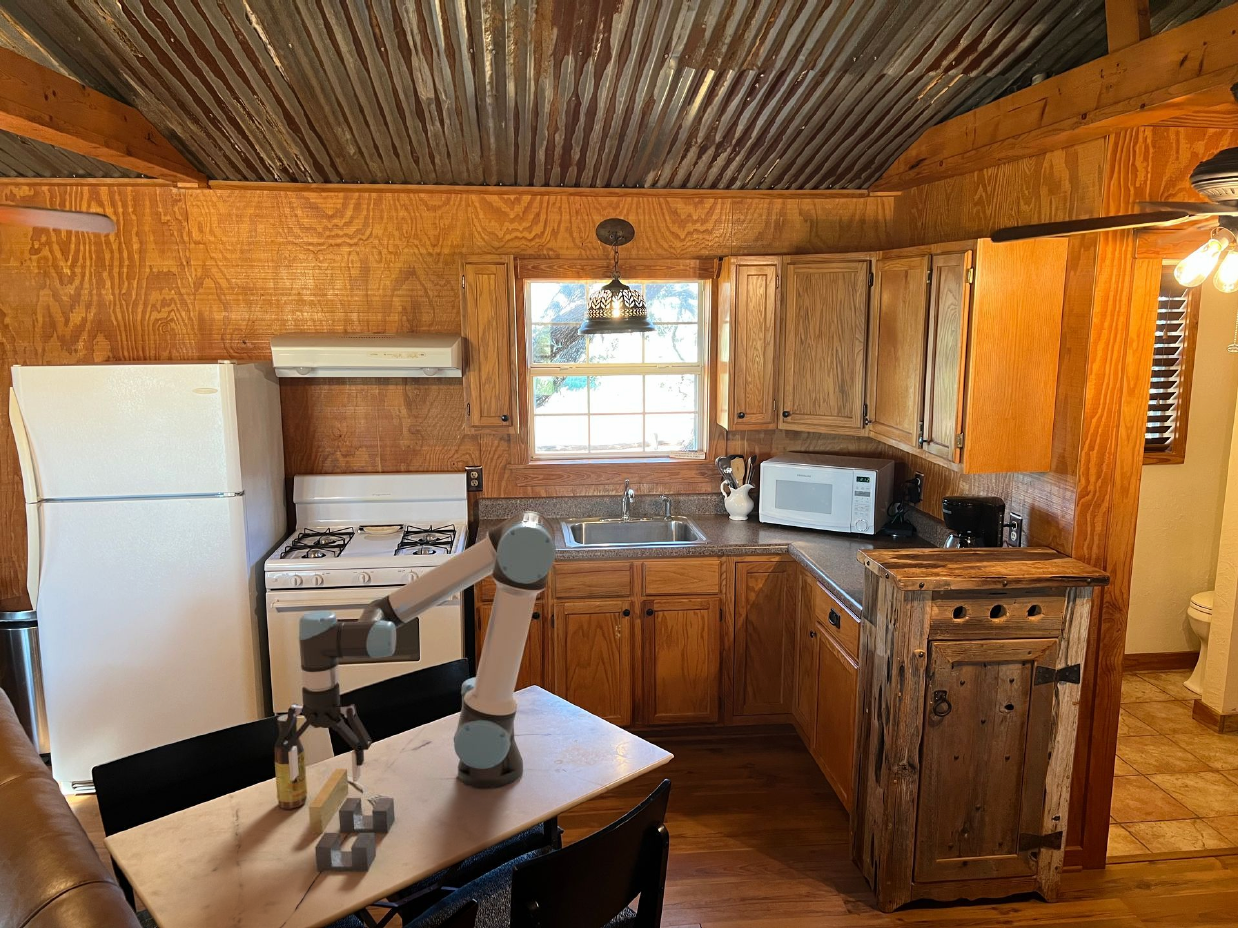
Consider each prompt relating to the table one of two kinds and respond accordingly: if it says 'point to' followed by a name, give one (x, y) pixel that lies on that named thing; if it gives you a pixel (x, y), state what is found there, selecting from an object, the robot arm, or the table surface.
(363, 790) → the fork
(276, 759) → the sauce bottle
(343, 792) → the link bar
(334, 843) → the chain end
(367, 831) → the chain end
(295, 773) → the robot arm
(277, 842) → the table surface
